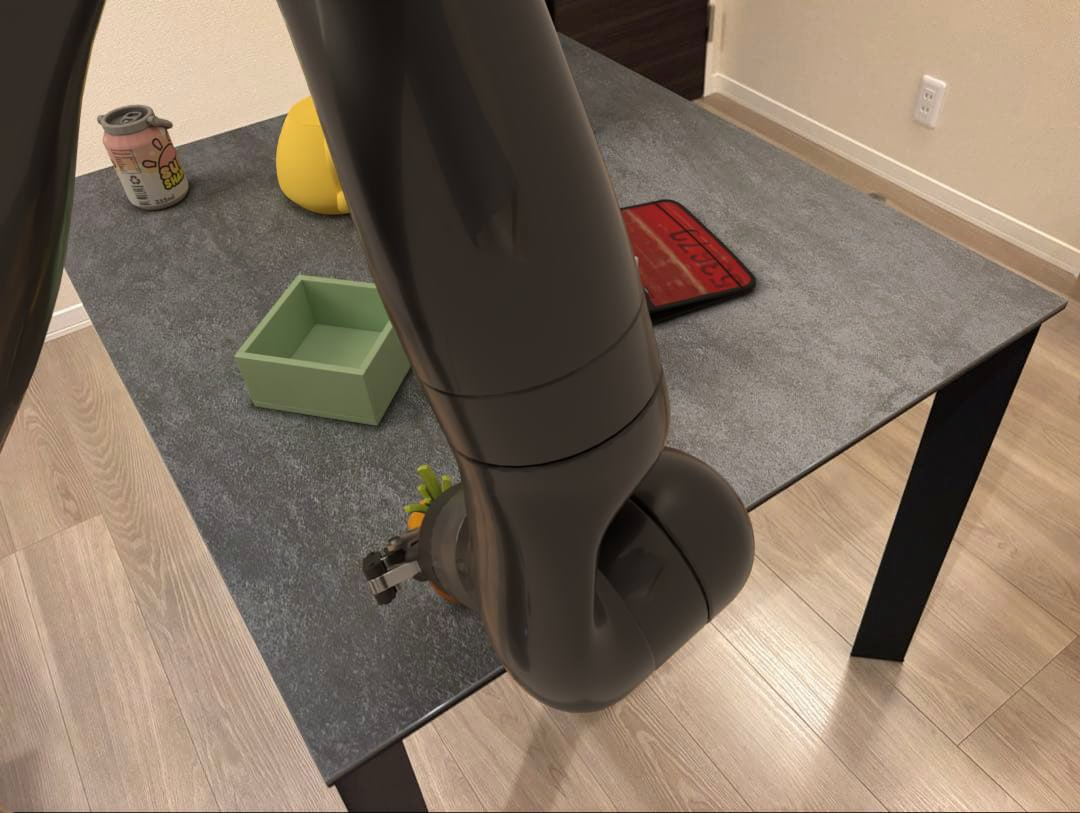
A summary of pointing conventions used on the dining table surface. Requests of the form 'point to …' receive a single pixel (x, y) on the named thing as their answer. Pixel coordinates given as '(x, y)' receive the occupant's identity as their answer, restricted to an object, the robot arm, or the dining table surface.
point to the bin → (325, 352)
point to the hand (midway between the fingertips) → (437, 531)
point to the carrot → (427, 503)
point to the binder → (681, 260)
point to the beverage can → (144, 156)
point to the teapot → (308, 162)
